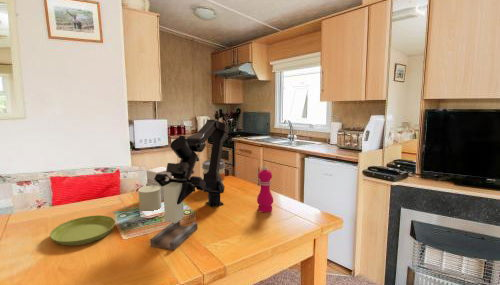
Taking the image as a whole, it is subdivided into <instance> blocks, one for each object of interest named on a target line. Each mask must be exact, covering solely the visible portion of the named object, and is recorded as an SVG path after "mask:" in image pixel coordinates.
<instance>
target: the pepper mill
mask: <svg viewBox="0 0 500 285" xmlns="http://www.w3.org/2000/svg"><path fill="white" fill-rule="evenodd" d="M257 176H258V179H259V185H260V190H259V192H258V195H257V199H256V201H257V204H258V206H257V209H258V212H261V213H271V212H272V211H273V206H272V205H273V203H274V198H273V197H274V196H273V194H272V192H271V190H270V188H271V184H272V181H271V180H272V178H273V173H272V171H270V170H269V169H268V167H267V166H263V167H262V170H260V171H259V172H258V175H257Z"/></svg>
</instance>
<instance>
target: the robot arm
mask: <svg viewBox="0 0 500 285" xmlns="http://www.w3.org/2000/svg"><path fill="white" fill-rule="evenodd" d="M229 132H230V127H229V125H227V123H224V122H222V121H219V120H218V119H206V122H205V123H204V125H203V126H202V127H201V128H200V129H199V130H198V132H196V133H193V134H191V135H189V136H188V137H186V136H185V135H179V136H178V137H177V138H175V139H174V140H172V141H171V142H170V149H171V150H172V151H173V153H175V156H177V158H179V159H180V160H179V162H177V163H175V162H167V163H166V164H167V165H166V168H167V169H166V172H170V173H171V176H172V178H170V177H169V176H168V175H167V174H161V173H158V174H156V176H155V178H154V180H155V181H156V182H157V183H158V184H159V185H160V186H165V185H167V184H169V183H171V182H176V183H182V190H181V193H180V195H179V198H178V201H177V204H178V205H179V204H180V203H181V202H182V201H183V202H184V200H185V199H187V198H188V196H190V195H191V194H192V193H193V192H194V193H195V192H196V190H197V191H203V192H204V193H207V198H208V201H205V204H206V205H207V206H208V207H210V208H214V207H217V206H223V205H224V202H222V201H221V194H224V193H225V192H224V191H225V185H224V182H223V183H222V182H221V176H220V173H219V168H220V160H221V159H222V152H223V147H224V142H225V141H226V140H227V138H228V134H229ZM210 136H211V137H210ZM209 138H212V145H211V151H210V152H211V153H210V165H209V171H208V172H207V173H205V174H204V176H203V178H202V177H201V176H194V174H195V171H194V168H195V166H196V163H197V162H200V158H199V156H198V154H197V153H202V152H203V151H204V149H205V147H206V146H207V143H206V142H207V140H208V139H209Z"/></svg>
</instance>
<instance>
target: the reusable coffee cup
mask: <svg viewBox="0 0 500 285" xmlns="http://www.w3.org/2000/svg"><path fill="white" fill-rule="evenodd" d="M225 162H226V161H224V160H220V168H219V173H220V176H221V182H222V183H223V184H224V180H225V175H226V174H225V173H226V171H225V169H226V163H225ZM209 165H210V160H209V159H208V160H205V161H203V162H202V170H203V172H202V176H203V177H204V174H205V173H207V172H208V171H209Z"/></svg>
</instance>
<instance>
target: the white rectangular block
mask: <svg viewBox="0 0 500 285" xmlns="http://www.w3.org/2000/svg"><path fill="white" fill-rule="evenodd" d="M181 190H182V183H176V182H171V183H169V184H167V185H165V186H164V200H163V201H164V204H163V206H164V207H163V208H164V211H163V212H164V222H165V223H170V224H171V223H177V222H179V221H180V222H181V220H182V219H184V216H185V214H184V211H185V210H184V200H183V201H182V202H181V203H180V204H179V205H178V204H177V201H178V198H179V195H180V193H181Z"/></svg>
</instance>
